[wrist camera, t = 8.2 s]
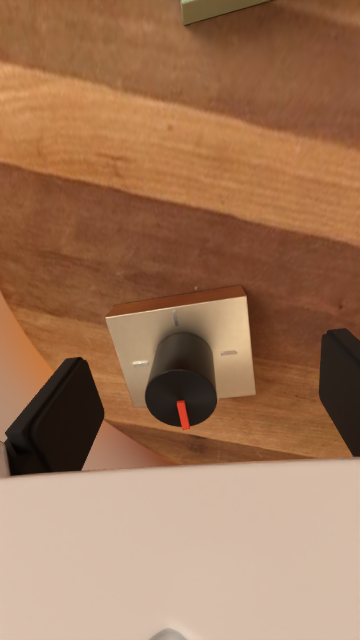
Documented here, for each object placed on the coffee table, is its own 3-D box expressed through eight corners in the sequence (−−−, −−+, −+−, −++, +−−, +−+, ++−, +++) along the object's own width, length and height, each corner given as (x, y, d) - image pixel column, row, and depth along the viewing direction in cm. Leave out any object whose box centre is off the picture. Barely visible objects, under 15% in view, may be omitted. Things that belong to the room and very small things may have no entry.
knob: (149, 336, 24) (136, 376, 19) (209, 328, 23) (212, 367, 18) (161, 385, 26) (152, 433, 21) (216, 379, 25) (221, 427, 20)
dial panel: (139, 389, 30) (133, 409, 27) (114, 305, 26) (103, 318, 23) (250, 376, 29) (256, 396, 26) (241, 284, 25) (247, 296, 22)
